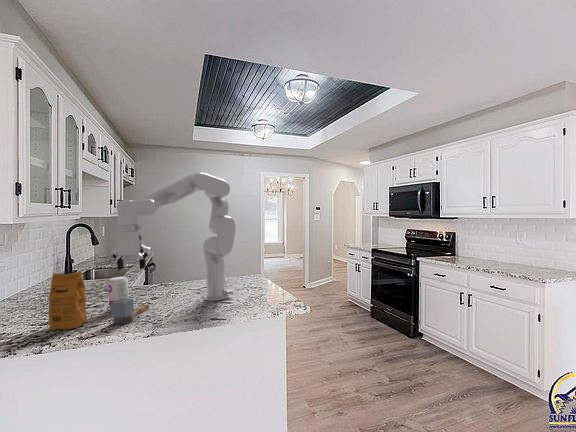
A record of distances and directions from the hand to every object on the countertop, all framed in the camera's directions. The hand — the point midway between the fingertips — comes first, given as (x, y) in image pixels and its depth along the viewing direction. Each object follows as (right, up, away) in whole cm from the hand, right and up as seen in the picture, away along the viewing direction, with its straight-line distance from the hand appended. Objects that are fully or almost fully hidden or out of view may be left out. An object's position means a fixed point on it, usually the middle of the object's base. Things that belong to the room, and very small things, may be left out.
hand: (131, 268), depth 135 cm
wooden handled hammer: (-1, -21, +3) cm, 22 cm away
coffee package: (-23, -23, -6) cm, 33 cm away
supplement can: (-12, -22, +13) cm, 28 cm away
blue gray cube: (-2, -19, -4) cm, 19 cm away
